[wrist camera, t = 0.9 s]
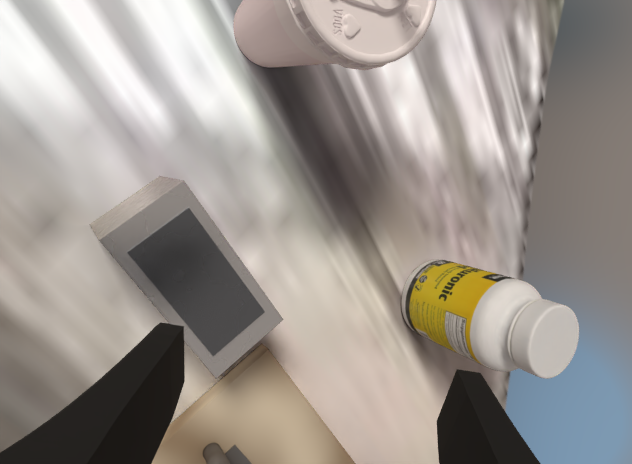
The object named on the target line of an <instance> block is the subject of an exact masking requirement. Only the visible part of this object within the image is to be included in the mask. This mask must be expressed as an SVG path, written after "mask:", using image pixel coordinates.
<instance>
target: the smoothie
mask: <svg viewBox="0 0 632 464" xmlns="http://www.w3.org/2000/svg"><path fill="white" fill-rule="evenodd" d="M435 6H436V0H243V1H242V3H241V4H240V6H239V7H238V9H237V11H236V14H235V17H234V35H235V39H236V42H237V44H238V46H239V48H240V50H241V51H242V53H243V54H244V55H245V56H246V57H247V58H248V59H249V60H250V61H252V62H253V63H255V64H257V65H259V66H262V67H268V68H272V67H287V66H303V65H319V64H339V65H341V66H343V67H345V68H352V69H360V70H368V69H372V68H377V67H382V66H384V65H385V64H387V63H390V62H393V61H396V60H398V59H400V58H402V57H404V56H405V55H407V54H408V53H409V52H410V51H412V50H413V49H414V48H415V47H416V46H417V44H418V43H419V42H420V41H421V39H422V38H423V36H424V35H425V33H426V31H427V29H428V27H429V25H430V22H431V20H432V17H433V14H434V10H435Z"/></svg>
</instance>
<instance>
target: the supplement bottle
mask: <svg viewBox="0 0 632 464" xmlns="http://www.w3.org/2000/svg"><path fill="white" fill-rule="evenodd" d="M401 306H402V313H403V316H404V319H405V321H406V323H407V325H408V326H409V327H410V328H411V329H412V330H413V331H414V332H416V333H418V334H419V335H421V336H423V337H425V338H427V339H429V340H431V341H434V342H436V343H438V344H440V345H442V346H444V347H446V348H448V349H450V350H452V351H454V352H456V353H458V354H460V355H463V356H465V357H467V358H469V359H471V360H473V361H475V362H477V363H479V364H482V365H483V366H485V367H488V368H490V369H493V370H496V371H501V372H507V371H512V370H515V369H518V368H520V369H522V370H524V371H526V372H528V373H531V374H533V375H535V376H538V377H540V378H552V377H554V376H556V375H558V374H559V373H561V372H562V371H563V370H564V369H565V368H566V367H567V365H568V364H569V362H570V361H571V359H572V357H573V355H574V353H575V351H576V348H577V344H578V338H579V325H578V321H577V318H576V316H575V314H574V312H573V311H572V310H571V309H569V308H568V307H567V306H565V305H562V304H558V303H555V302H552V301H549V300H543V299H542V298H541V296H540V294H539V293H538V292H537V290H536V289H535V288H534V287H533V286H531V285H530V284H528V283H526V282H524V281H521V280H518V279H514V278H511V277H507V276H503V275H499V274H495V273H491V272H487V271H484V270H480V269H476V268H472V267H469V266H465V265H461V264H457V263H454V262H450V261H445V260H431V261H427V262H425V263H423V264H422V265H420V266H419V267H417V268H416V269H415V270H414V271H413V272H412V274H411V275H410V276H409V278H408V280H407V281H406V283H405V286H404V289H403V293H402V300H401Z"/></svg>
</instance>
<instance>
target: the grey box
mask: <svg viewBox="0 0 632 464" xmlns="http://www.w3.org/2000/svg"><path fill="white" fill-rule="evenodd" d="M89 225H90V226H91V228H92V230H93V231H94V233H95V234H96V236H97V238H98V239H99V241H100V242H101V243H102V244H103V245H104V247H105V248H106V249H107V250H108V251H109V252H110V254H111V255H112V256H113V257H114V258H115V260H116V261H117V262H118V263H119V264H120V265H121V267H122V268H123V269H124V270H125V271H126V272H127V274H128V275H129V276H130V277H131V278H132V280H133V281H134V282H135V283H136V284H137V285H138V287H139V288H140V289H141V290H142V291H143V293H144V294H145V295H146V296H147V297H148V298H149V300H150V301H151V302H152V303H153V304H154V306H155V307H156V308H157V309H158V310H159V311H160V313H161V314H162V315H163V316H164V317H165V319H166V320H167V321H168V322H169V323H170V324H172V325H179V326H184V341H185V342H186V343H187V345H188V346H189V347H190V348H191V349H192V350H193V352H194V353H195V354H196V355H197V356H198V357H199V359H200V360H201V361H202V362H203V363H204V365H205V366H206V367H207V368H208V369H209V370H210V372H211V373H212V374H213V375H214V376H215V378H217V377H219V376H220V375H221V374H222V373H223V372H224V371H225V370H227V369H228V368H229V367H230V366H231V365H232V364H233V363H235V362H236V361H237V360H238V359H239V358H240V357H241V356H243V355H244V354H245V353H246V352H247V351H248V350H249V349H250V348H252V347H253V346H254V345H255V344H256V343H257V342H258V341H260V340H261V339H262V338H263V337H264V336H265V335H266V334H268V333H269V332H270V331H271V330H272V329H273V328H274V327H276V326H277V325H278V324H279V323H280V322H281V321H282V320H283V318H282V317H281V315H280V314H279V313H278V311H277V310H276V309H275V307H274V306H273V304H272V303H271V302H270V300H269V299H268V297H267V296H266V295H265V293H264V292H263V290H262V289H261V288H260V286H259V285H258V283H257V282H256V281H255V279H254V278H253V276H252V275H251V274H250V272H249V271H248V269H247V268H246V267H245V265H244V264H243V262H242V261H241V260H240V258H239V257H238V255H237V254H236V253H235V251H234V250H233V248H232V247H231V246H230V244H229V243H228V242H227V240H226V239H225V237H224V236H223V235H222V233H221V232H220V230H219V229H218V228H217V226H216V225H215V223H214V222H213V221H212V219H211V218H210V216H209V215H208V214H207V212H206V211H205V209H204V208H203V207H202V205H201V204H200V202H199V201H198V200H197V198H196V197H195V195H194V194H193V193H192V191H191V190H190V188H189V187H188V186H187V184H186V183H185V181H183V180H178V179H173V178H168V177H163V176H159V177H158V178H156V179H155V180H153V181H152V182H150V183H149V184H147V185H146V186H144V187H143V188H142V189H140V190H139V191H137V192H136V193H134V194H133V195H131V196H130V197H128V198H127V199H126V200H124V201H123V202H121V203H120V204H118V205H117V206H115V207H114V208H113V209H111V210H110V211H108V212H107V213H105V214H104V215H102V216H101V217H99V218H98V219H97V220H95V221H94V222H92V223H91V224H89Z"/></svg>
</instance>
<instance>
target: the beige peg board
mask: <svg viewBox="0 0 632 464" xmlns="http://www.w3.org/2000/svg"><path fill="white" fill-rule="evenodd" d="M151 464H355V463H354V461H353V460H352V459H351V457H350V456H349V455H348V453H347V452H346V451H345V449H344V448H343V447H342V445H341V444H340V443H339V441H338V440H337V439H336V438H335V436H334V435H333V434H332V432H331V431H330V430H329V428H328V427H327V426H326V424H325V423H324V422H323V420H322V419H321V418H320V416H319V415H318V414H317V413H316V411H315V410H314V409H313V407H312V406H311V405H310V403H309V402H308V401H307V399H306V398H305V397H304V395H303V394H302V393H301V391H300V390H299V389H298V388H297V386H296V385H295V384H294V382H293V381H292V380H291V378H290V377H289V376H288V374H287V373H286V372H285V370H284V369H283V368H282V366H281V365H280V364H279V363H278V361H277V360H276V359H275V357H274V356H273V355H272V353H271V352H270V351H269V349H267V348H266V347H265V346H264V345H263V344H261V345H260V346H259V347H257V348H256V349H255V350H254V351H253V352H252V353H251V354H249V355H248V356H247V357H246V358H245V359H244V360H243V361H242V362H240V363H239V364H238V365H237V366H236V367H235V368H234V369H232V370H231V371H230V372H229V373H228V374H227V375H226V376H225V377H223V378H222V379H221V380H220V381H219V382H218V383H217V384H215V385H214V386H213V387H212V388H211V389H210V390H209V391H208V392H206V393H205V394H204V395H203V396H202V397H201V398H200V399H198V400H197V401H196V402H195V403H194V404H193V405H192V406H191V407H189V408H188V409H187V410H186V411H185V412H184V413H183V414H181V415H180V416H179V417H178V418H177V419H176V420H175V421H174V422H172V423H171V424H170V425H169V426H168V429H167V431H166V433H165V435H164V437H163V440H162V442H161V444H160V446H159V448H158V450H157V453H156V455H155V457H154V459H153V461H152V463H151Z"/></svg>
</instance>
